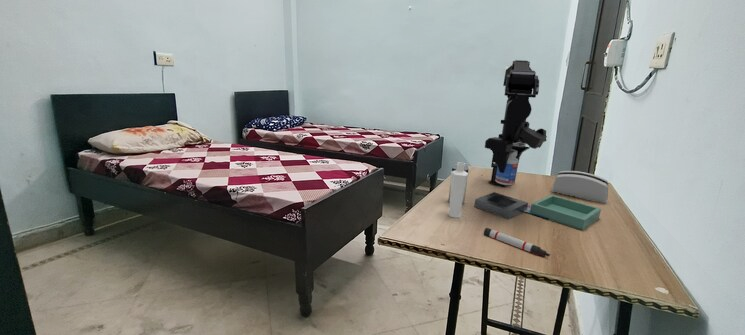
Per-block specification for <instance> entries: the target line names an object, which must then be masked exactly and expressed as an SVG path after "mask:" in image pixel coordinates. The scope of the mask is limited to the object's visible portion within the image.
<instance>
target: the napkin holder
mask: <svg viewBox="0 0 745 335" xmlns="http://www.w3.org/2000/svg"><path fill="white" fill-rule="evenodd" d="M554 192H557V193H556V194H559V193H562V194H561V195H564V194H566V195H565V196H568V195H570V196H569V197H573V196H575V197H574V198H578V197H579V199H582V198H583V200H586V201H587V200H588V201H591V202H592V201H593V202H597V203H601V204H607V202H608V198H609V197H608V196H609V195H608V194H609V181H608V180H607V179H606V178H604V177H601V176H599V175H596V174H594V173H590V172H589V173H588V172H583V171H578V170H562V171H558V173H557V174H556V175H555V178H554V181H553V185H552V186H551V193H554Z"/></svg>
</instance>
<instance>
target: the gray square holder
mask: <svg viewBox="0 0 745 335" xmlns="http://www.w3.org/2000/svg"><path fill="white" fill-rule="evenodd" d="M500 204H503V205H506V206H507V207H506V206H503V205H500ZM528 205H529V202H528V201H524V200H521V199H518V198H515V197H511V196H507V195H505V194H502V193H499V192H495V191H494V192H491V193H488V194H486V195H482V196H480V197H478V198H475V200H474V208H476V209H480V210H482V211H485V212H488V213H490V214H493V215H496V216H499V217H501V218H505V219H508V220H510V219H512V218H515V217H516V216H519V215H521V214H524V213H523V212H524V211H525V210H527V208H528Z"/></svg>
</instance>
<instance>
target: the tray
mask: <svg viewBox="0 0 745 335" xmlns="http://www.w3.org/2000/svg"><path fill="white" fill-rule="evenodd" d="M530 206H531V209H530V213H533V214H536V215H539V216H542V217H545V218H548V219H549V220H548V221H552V222H555V223H558V224H561V225H565V226H568V227H569V228H574V229H576V230H580V231H584V230H585V229H586V228H588V227H589V226H591V225H592V224H593V223H594V222H597V221H598V219H600V216H601V215H600V214H601V211H602V208H601V207H597V206H593V205H590V204H587V203H582V202H580V201H576V200H571V199H569V198H565V197H562V196H557V195H554V194H549V195H548V196H545V197H543V198H541V199H539V200H538V199H537V201H535V202H532V203H531V205H530Z"/></svg>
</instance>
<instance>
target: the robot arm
mask: <svg viewBox="0 0 745 335" xmlns="http://www.w3.org/2000/svg"><path fill="white" fill-rule="evenodd" d="M530 65H531V62H530V61H528V60H520V59H519V60H517V59H514V60H513V61H512V64H511V65H510V66H508V68H506V69H505V73H504V79H503V80H504V81H503V85H502V86H503V87H504V96H506V97H507V99H506V103H505V104H506V105H505V112H504V119H501V120H500V124H501V125H502V131H501V133H500V134H498V137H496V136H495V137H494V136H493V137H489V138H488V139H486V140H485V142H484V148H485V149H488V150H490V151H491V152H492V158H491V165H490V167H491V168H492V172H491V179H490V180H488V183H489V184H493V185H496V186H499V187H503V188H506V187H508V186H510V185H503V184H499V183H497V182H496V181H495V179H496V173H497V166H498V168H499V171H500V172H501V173H504V171H505V168H506V164H507V161H508V158H509V155H511V154H512V153H514V152H515V151H512V150H511V149H513V150H516V151H518V152H517V156H516V158H517V159H518V164H519V163H520V159H521V156H522V154H523V153H524V152H526V151H527V150H529V149H535V150H536V149H538V148H541V147H542V146H543V143H545V142H547V137H548V136H547V130H545V129H544V128H538V129H537V130H536V129H532V128H530V122H529V121H527V119H528V118H529V116H530V115H531V113H532V105H531V103H530V100H529V99H530V98H536V97H537V96H538V95H539V91H540V90H539V89H540V79H539V76H538V75H536V71H535V70H532V68H531V66H530ZM518 167H519V166H518ZM518 167H517V169H518Z"/></svg>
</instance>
